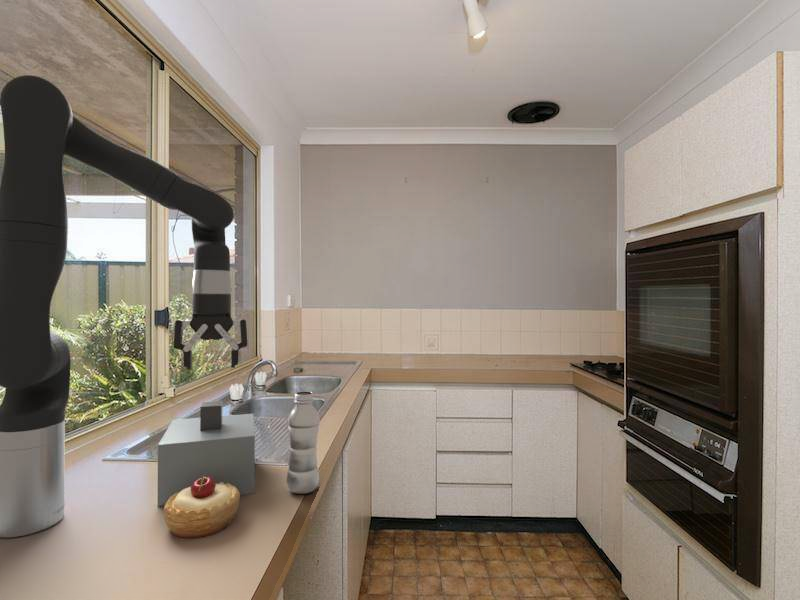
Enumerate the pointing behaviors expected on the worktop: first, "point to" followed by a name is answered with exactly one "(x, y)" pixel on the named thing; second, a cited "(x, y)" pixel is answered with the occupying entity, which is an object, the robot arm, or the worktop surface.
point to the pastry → (201, 508)
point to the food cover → (207, 451)
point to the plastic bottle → (303, 445)
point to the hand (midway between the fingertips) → (211, 368)
